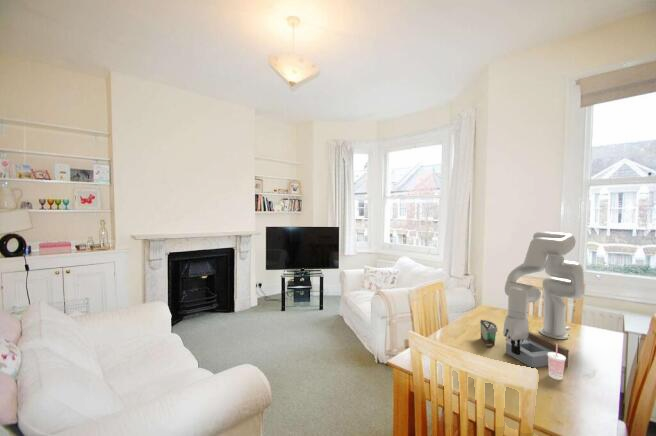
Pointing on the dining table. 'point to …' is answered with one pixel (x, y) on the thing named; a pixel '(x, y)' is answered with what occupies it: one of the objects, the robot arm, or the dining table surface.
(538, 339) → the walnut wall
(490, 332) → the food container
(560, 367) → the beverage cup
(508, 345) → the socket block
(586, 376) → the dining table surface
